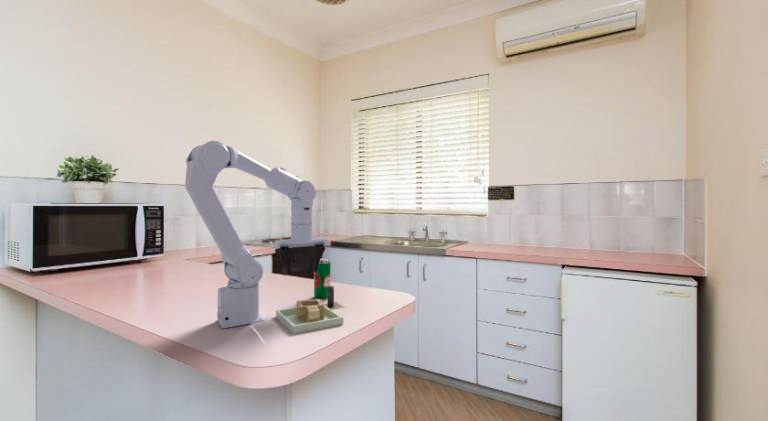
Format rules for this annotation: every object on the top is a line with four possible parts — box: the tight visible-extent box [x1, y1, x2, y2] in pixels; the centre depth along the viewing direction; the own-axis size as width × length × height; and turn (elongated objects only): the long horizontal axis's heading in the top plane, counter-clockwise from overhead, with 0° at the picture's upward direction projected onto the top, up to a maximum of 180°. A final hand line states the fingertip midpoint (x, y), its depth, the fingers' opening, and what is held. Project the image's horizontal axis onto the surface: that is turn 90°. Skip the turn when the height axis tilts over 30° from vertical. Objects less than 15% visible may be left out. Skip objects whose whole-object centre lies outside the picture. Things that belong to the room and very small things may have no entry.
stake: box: [323, 285, 346, 311], centre depth 100 cm, size 6×6×6 cm
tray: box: [275, 306, 344, 335], centre depth 88 cm, size 12×14×2 cm
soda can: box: [313, 257, 332, 300], centre depth 111 cm, size 5×5×12 cm
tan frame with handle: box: [296, 298, 325, 323], centre depth 89 cm, size 10×6×4 cm, turn 20°
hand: (301, 272), depth 100 cm, fingers open, 7 cm apart
